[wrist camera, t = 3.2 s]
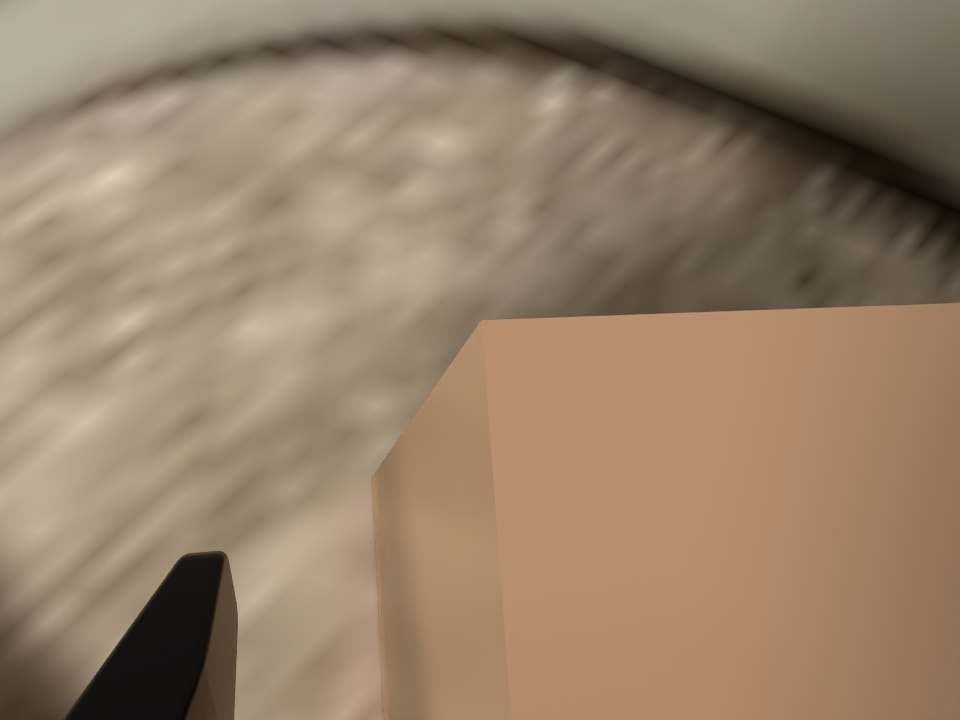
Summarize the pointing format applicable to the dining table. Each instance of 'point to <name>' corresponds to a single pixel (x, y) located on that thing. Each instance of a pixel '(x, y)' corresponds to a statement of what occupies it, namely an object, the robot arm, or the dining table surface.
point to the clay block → (679, 521)
